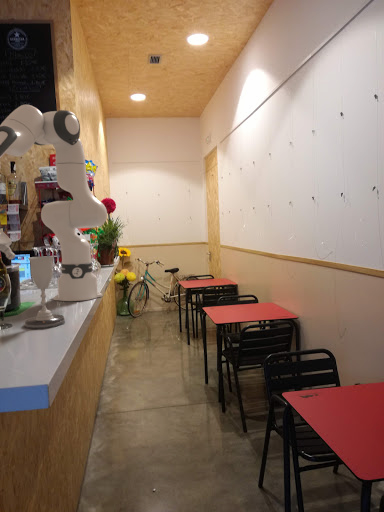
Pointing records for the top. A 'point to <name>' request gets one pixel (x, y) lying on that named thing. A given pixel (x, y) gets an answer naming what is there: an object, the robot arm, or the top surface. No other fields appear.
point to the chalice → (42, 281)
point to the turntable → (44, 322)
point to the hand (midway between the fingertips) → (5, 259)
